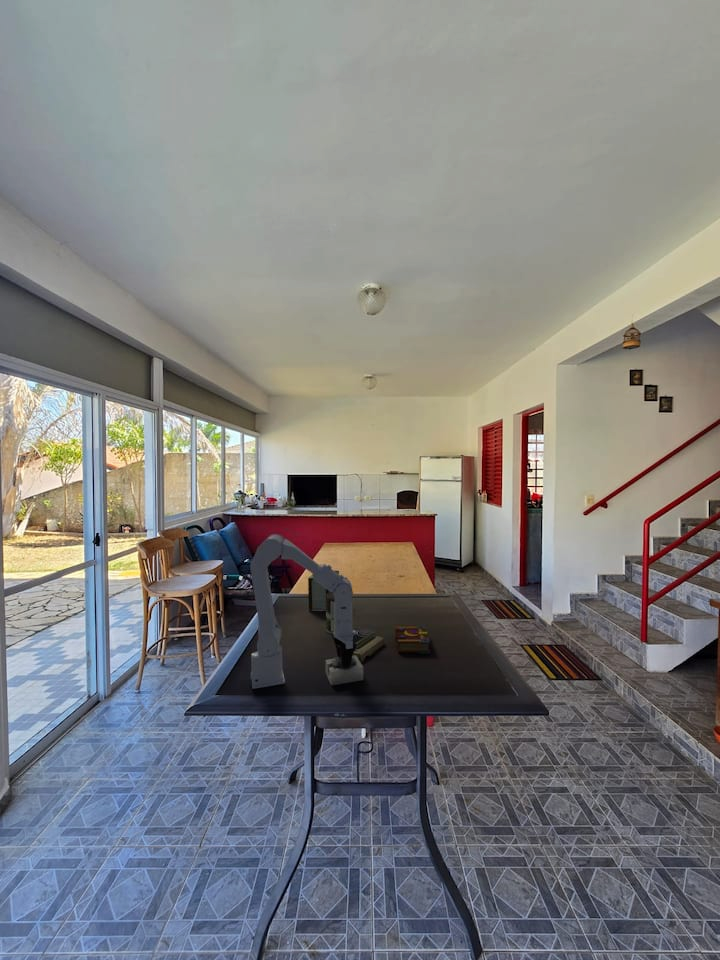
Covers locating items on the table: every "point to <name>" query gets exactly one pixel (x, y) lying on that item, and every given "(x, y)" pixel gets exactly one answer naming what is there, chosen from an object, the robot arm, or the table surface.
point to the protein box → (317, 594)
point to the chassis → (344, 672)
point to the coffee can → (330, 612)
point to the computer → (368, 646)
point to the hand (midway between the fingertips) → (343, 662)
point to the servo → (338, 662)
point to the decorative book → (412, 639)
